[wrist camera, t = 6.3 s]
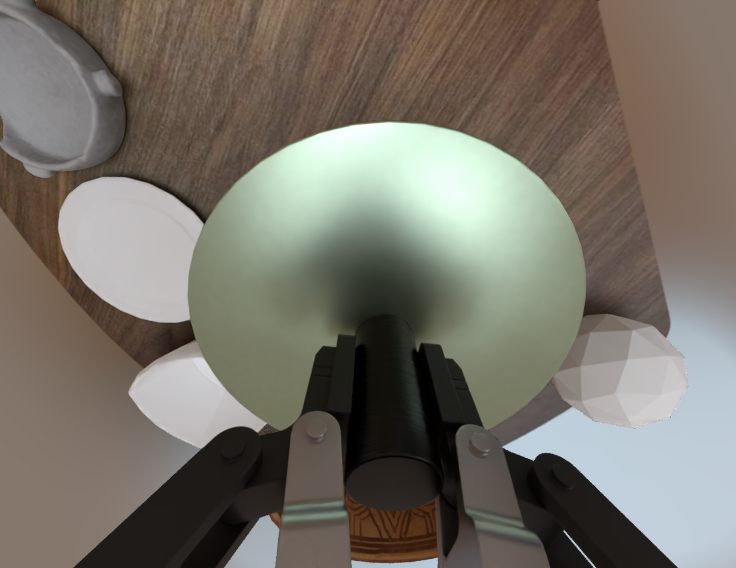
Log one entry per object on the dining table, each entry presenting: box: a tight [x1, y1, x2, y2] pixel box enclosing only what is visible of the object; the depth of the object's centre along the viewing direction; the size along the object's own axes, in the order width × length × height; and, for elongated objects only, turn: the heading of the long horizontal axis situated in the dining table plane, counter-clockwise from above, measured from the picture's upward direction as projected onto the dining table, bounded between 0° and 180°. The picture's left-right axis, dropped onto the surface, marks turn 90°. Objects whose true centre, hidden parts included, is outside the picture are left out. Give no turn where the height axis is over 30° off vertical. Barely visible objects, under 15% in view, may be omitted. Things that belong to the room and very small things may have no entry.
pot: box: [269, 429, 490, 563], centre depth 42 cm, size 28×28×20 cm
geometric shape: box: [551, 314, 688, 428], centre depth 40 cm, size 14×15×15 cm
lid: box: [187, 120, 586, 511], centre depth 11 cm, size 17×17×7 cm
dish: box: [0, 0, 125, 178], centre depth 29 cm, size 14×14×5 cm
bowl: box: [128, 339, 267, 448], centre depth 45 cm, size 18×18×9 cm
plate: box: [58, 177, 204, 323], centre depth 40 cm, size 21×21×2 cm
